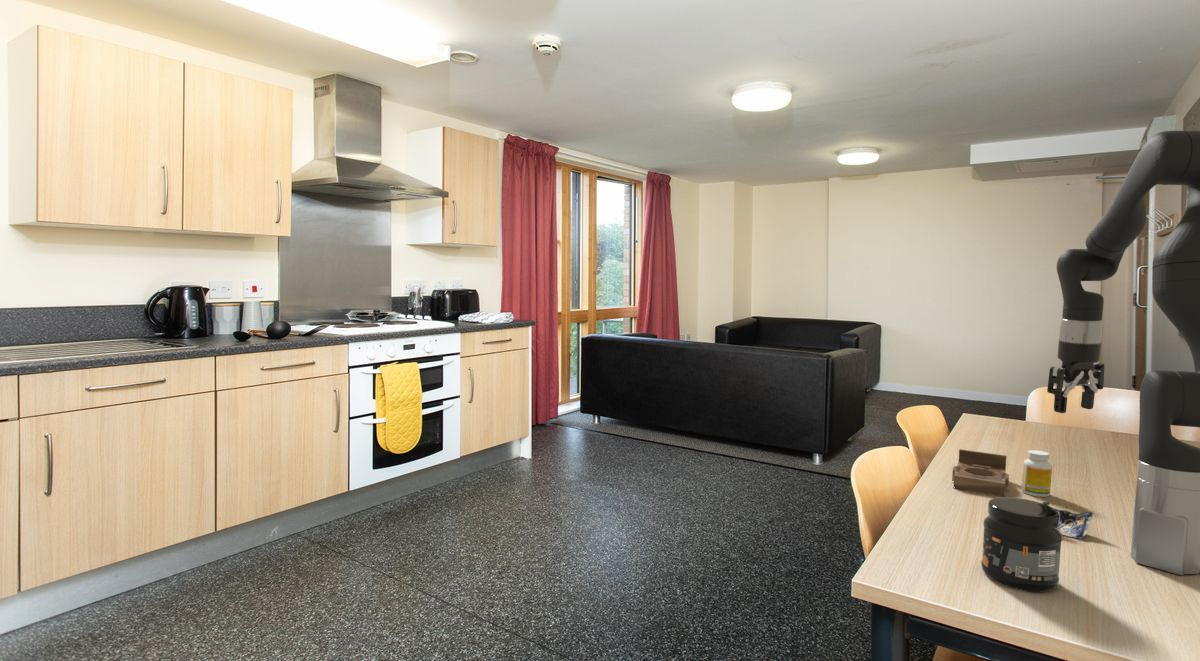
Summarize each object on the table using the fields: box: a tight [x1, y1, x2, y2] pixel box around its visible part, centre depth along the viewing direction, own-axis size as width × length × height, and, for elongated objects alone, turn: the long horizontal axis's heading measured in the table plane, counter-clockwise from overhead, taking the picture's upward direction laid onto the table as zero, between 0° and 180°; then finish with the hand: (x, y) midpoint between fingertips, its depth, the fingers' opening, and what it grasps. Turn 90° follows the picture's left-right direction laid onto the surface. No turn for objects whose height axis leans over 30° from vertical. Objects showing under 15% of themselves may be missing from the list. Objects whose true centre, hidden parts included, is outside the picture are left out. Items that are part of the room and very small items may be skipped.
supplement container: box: [980, 496, 1063, 593], centre depth 101 cm, size 10×10×12 cm
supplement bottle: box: [1021, 449, 1053, 498], centre depth 144 cm, size 5×5×10 cm
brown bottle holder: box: [951, 448, 1010, 497], centre depth 151 cm, size 15×11×6 cm
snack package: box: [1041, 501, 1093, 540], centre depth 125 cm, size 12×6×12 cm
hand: (1073, 410), depth 142 cm, fingers open, 8 cm apart
